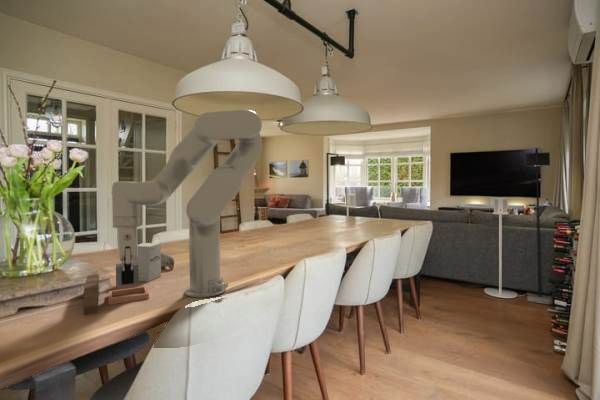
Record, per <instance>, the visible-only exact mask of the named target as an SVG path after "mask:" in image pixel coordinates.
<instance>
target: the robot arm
mask: <svg viewBox="0 0 600 400" xmlns="http://www.w3.org/2000/svg"><path fill="white" fill-rule="evenodd" d="M194 121H195V122H194V125H193V126H192V129H191V130H190V131H189V132H188V133H187V134H186V135H185V136H184V137H183V138H182V140H181V141H179V143H177V145H176V146H175V147H174V148H173V149H172V151H171V153H170V155H169V158H168V160H167V163H166V164H165V166H164V167H163V168H162V169H161V170H160V171H159V173H158V174H157V175H156V176H155V177H154V178H153V180H147V181H139V182H138V181H131V180H130V181H129V180H128V181H127V180H126V181H125V180H124V181H123V180H122V181H114V182H113V183H112V185H111V187H112V188H111V195H112V196H111V198H112V199H111V201H112V205H111V206H112V229H117V231H116V233H117V234H116V235H117V236H116V238H117V252H118V257H119V261H120V262H121V263H122V270H123V271H122V284H123V285H124V284H132V283H134V270H133V258H134V259H135V260H137V259H138V242H139V241H138V230H137V229H138V228H140V227H141V206H146V207H147V206H148V207H153V206H154V207H155V206H158V205H160V204H163V203H165V202H166V201H167V200H168V199H169V198H170V197H171V196H172V195H173V194H174V192H176V191H177V189H178V188H179V187H180V186H181V185H182V184H183V182H184V181H185V180H186V179H187V177H189V176H190V175H191V173H193V171H194V170H195V169H196V168H197V167H198V166H199V164H200V163H201V162H202V161H203V160H204V159H205V158H206V157H207V155H208V154H209V153H210V152H211V151H212V150H213V149H214V148H215V146H216V145H218V143H219V142H220V141H224V140H225V141H226V140H236V144H235V147H234V148H233V149H232V151H231V152H230V153H229V154H228V156H227V157H226V159H225V160H224V161H223V162H222V164H221V165H220V166H218V167H216V168H215V169H213V170H212V171H211V173H210V174H209V176H208V177H207V178H206V179H205V180H204V182H203V183H202V185H200V187H199V188H198V190H197V191H196V192H195V193H194V194H193V195H192V197H191V198H190V199H189V201H188V202H187V204H186V210H185V211H186V216H187V218H188V222H189V223H188V226H189V227H188V229H189V230H188V239H189V241H188V243H189V244H188V248H189V253H188V254H189V257H188V258H189V260H188V261H189V262H188V263H189V286H187V287H186V288H184V294H185V295H186V296H188V297H190V298H191V297H192V298H210V297H215V296H218V295H221V294H223V293H224V292H225V291H226V290H227V288H228V287H229V283H228V282H224V277H221V215H222V214H223V213H224V211H225V210H226V209H227V207H229V205H230V204H231V202H232V200H234V198H235V197H236V196H237V195H238V193H239V191H240V190H241V188H242V185H243V182H244V180H245V179H246V177H247V176H249V174H250V172H251V171H252V170H253V168H254V167H255V165H256V164H257V163H258V160H259V158H260V157H261V154H262V151H263V141H262V136H261V130H262V127H263V124H262V123H263V122H262V119H261V117H260V115H259V114H258V113H257V112H255V111H254V110H251V109H237V110H236V109H235V110H220V111H219V110H218V111H209V112H208V111H207V112H204V113H201V114H200V115H198V116H197V118H196V119H195V120H194ZM124 263H125V264H124ZM124 267H125V268H124Z"/></svg>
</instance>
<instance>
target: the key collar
mask: <svg viewBox="0 0 600 400" xmlns="http://www.w3.org/2000/svg"><path fill="white" fill-rule="evenodd" d="M136 293H137V294H136ZM115 296H116V297H115ZM118 296H119V297H118ZM146 299H147V300H148V299H150V292H149V289H148V287H147V285H145V286H137V287H130V288H122V289H114V290H109V291H108V305H115V304H120V303H121V304H123V303H128V302H133V301H135V302H136V301H139V300H140V301H141V300H146Z"/></svg>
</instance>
